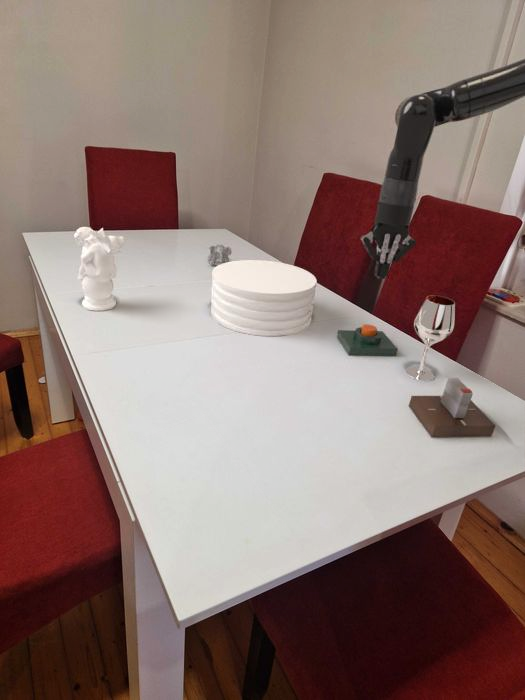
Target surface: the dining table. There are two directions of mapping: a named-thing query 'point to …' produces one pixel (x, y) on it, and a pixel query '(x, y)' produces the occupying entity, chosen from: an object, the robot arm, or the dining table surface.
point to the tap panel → (450, 419)
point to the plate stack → (262, 297)
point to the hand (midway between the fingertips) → (380, 277)
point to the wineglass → (432, 329)
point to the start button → (368, 330)
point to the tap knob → (456, 397)
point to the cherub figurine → (97, 267)
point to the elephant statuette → (219, 254)
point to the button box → (366, 343)
